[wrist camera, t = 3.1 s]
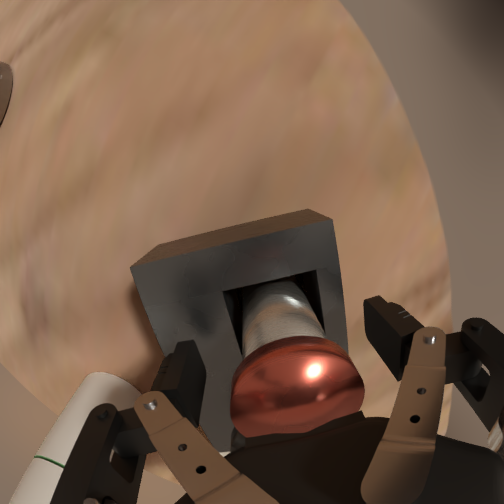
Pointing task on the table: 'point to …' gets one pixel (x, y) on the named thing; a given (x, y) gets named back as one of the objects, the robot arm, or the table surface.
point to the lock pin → (289, 365)
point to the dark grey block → (225, 299)
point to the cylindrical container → (70, 435)
